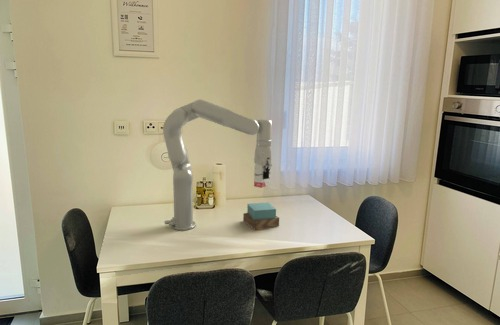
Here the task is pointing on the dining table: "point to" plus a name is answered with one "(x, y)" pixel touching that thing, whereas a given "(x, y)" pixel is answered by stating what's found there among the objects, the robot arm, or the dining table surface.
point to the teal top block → (261, 211)
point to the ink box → (260, 177)
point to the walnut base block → (260, 222)
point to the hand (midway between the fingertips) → (262, 177)
